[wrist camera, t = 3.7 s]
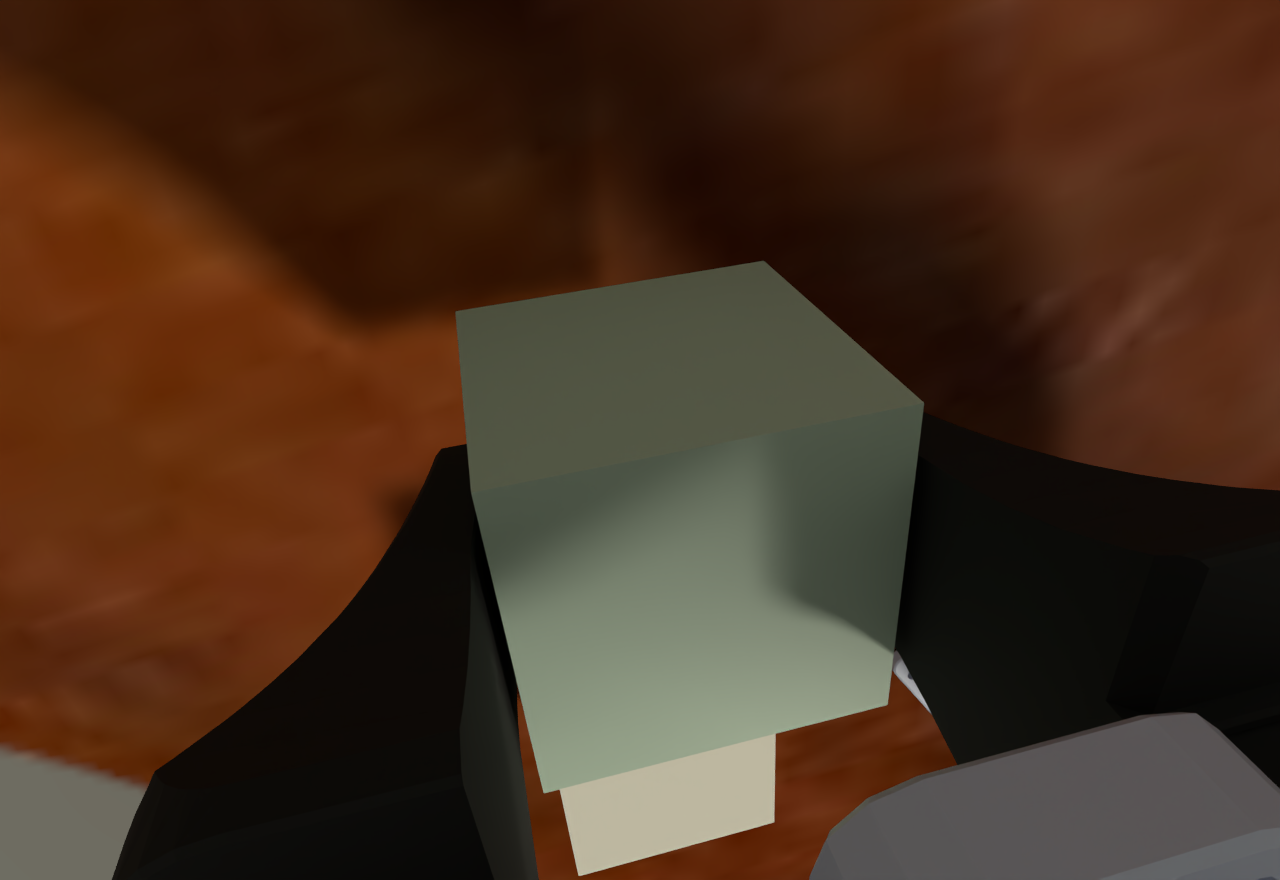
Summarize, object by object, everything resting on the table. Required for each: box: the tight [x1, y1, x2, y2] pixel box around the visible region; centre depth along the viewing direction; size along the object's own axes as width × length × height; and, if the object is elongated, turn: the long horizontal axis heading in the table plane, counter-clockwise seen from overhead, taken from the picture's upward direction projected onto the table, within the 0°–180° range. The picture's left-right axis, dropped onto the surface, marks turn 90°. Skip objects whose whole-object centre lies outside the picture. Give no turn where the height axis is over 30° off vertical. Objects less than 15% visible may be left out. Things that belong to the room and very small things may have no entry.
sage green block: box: [455, 261, 924, 793], centre depth 12 cm, size 5×5×5 cm
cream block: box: [560, 734, 775, 876], centre depth 20 cm, size 5×5×5 cm
